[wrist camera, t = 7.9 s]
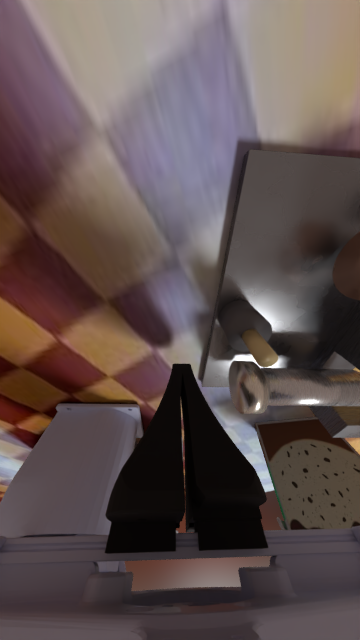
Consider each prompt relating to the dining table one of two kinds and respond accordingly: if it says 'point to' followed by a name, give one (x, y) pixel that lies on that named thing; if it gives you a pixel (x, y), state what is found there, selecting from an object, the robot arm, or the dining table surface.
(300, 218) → the mount
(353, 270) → the copper-capped metal rod
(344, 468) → the food container
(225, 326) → the potentiometer
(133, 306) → the dining table surface
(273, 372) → the silver long cylinder
